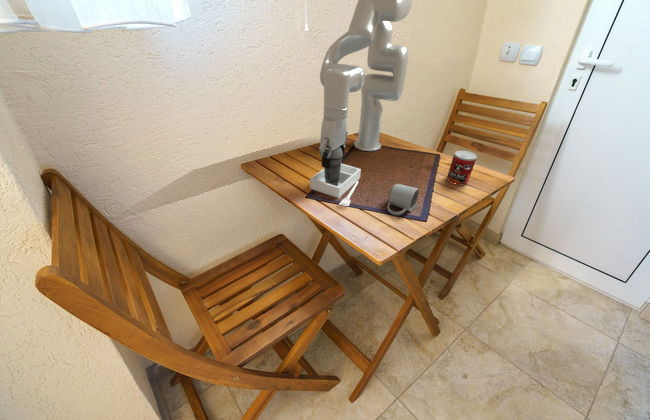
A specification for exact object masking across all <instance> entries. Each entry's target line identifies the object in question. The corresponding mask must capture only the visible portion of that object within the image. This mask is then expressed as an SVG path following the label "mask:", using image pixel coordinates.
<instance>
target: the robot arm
mask: <svg viewBox="0 0 650 420" xmlns="http://www.w3.org/2000/svg"><path fill="white" fill-rule="evenodd" d="M412 4H413V0H357V3H356V5H355V8H354V12H353V15H352V18H351V21H350V24H349V26H348V29H347V31H346V32H345V33H344V34H342V35H340V36H339V37H338V38H337V39H336V40H335V41H334V42H333V43H332V44H331V45H330V46H329V47H328V50H326V53H325V56H324V58H323V62H322V64H321V67H320V73H319V80H320V84H321V85H322V87H323V116H322V117H323V119H322V122H321V130H320V140H319V141H320V142H319V147H318V150H319V155H320V157H321V167H322V168H323V169H324V168H328V169H330V168H331V157H330V155H331V152H332V151H333V150H335V149H337V148H338V147H341V149H342V152H343V157H342V159H344V158H345V152H346V143H347V137H348V133H349V131H347V126H348V125H347V124H348V123H347V121H348V120H347V119H348V110H349V98H350V97H349V96H350V95H349V93H356V92H358V91H360V90H361V91H360V92H361V108H360V114H359V115H360V116H359V118H360V119H359V126H358V135H357V136H358V137H357V140H356V141H354V144H353V145H354V147H355V148H356V149H357V150H360V151H365V152H376V151H379V150H380V149H381V147H382V144H381V143H380V142H379V139H380V136H381V134H380V132H381V126H382V125H381V123H382V116H383V113H384V112H383V105H382V103H381V101H380V100H383V101H389V102H397V101H399V100H400V99H401V98H402V95H403V91H404V86H405V81H406V74H407V69H408V67H407V66H408V62H409V50H408V48H407V47H406V46H404V45H399V44H392V38H393V25H392V23H393V22H394V23H395V22H399V21H402V20H404V19H405V18H407V16H408V15H409V13H410V11H411V9H412ZM391 22H392V23H391ZM366 48H367V49H368V50H367V58H366V59H367V62H366V63H367V67H368V68H369V69H370V70H372V71H377V72H378V71H379V72H387V73H391V74H392V75H388V74H381V73H368V74H366V73H365V70H364V69H363V68H362V67H361V66H357V65H353V64H346V63H345V64H343V63H339V62H340V60H342V59H343V58H344V57H346V56H348V55H351V54H353V53H356V52H359V51H361V50H364V49H366ZM327 146H328V147H330V148H327ZM326 150H328V151H329V152H328V154H327V153H326V152H325V151H326Z"/></svg>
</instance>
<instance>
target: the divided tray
mask: <svg viewBox="0 0 650 420" xmlns="http://www.w3.org/2000/svg"><path fill="white" fill-rule="evenodd" d="M361 171H362V169H361V168H358V167H355V166H351V165H348V164H345V163H342V162H341V168H340V176H339V182H338V186H335V185H331V184H328V183H326V181H325V171H324V168H323V169H321V170H319V172H317V173H316V174H314V175H313V176H311V178H309V189H310V190H313V191H316V192H319V193H323V194H325V195H328V196H331V197H334V198H337V199H340V198H341V197H342V196H343V195H344V194H345V193H346V192H347V191H348V190H350V188H352V186H354V185H355V184H356V182H357V181H359V180H360V179H361Z"/></svg>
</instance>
